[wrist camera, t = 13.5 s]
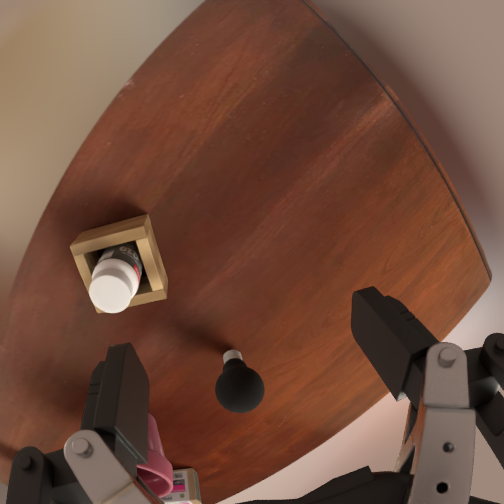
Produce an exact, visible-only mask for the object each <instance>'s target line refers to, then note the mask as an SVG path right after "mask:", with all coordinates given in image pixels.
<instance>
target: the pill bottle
mask: <svg viewBox="0 0 504 504" xmlns="http://www.w3.org/2000/svg"><path fill="white" fill-rule="evenodd" d="M143 267H144V265H143V262H142V259H141V256H140V253H139V249H138V246H137V243H136V242H135V241H134V240H133V241H129V242H125V243H122V244H118V245H114V246H110V247H106V249H105V251H104V253H103V254H102V256H101V258H100V260H99V262H98V263H97V265H96V267H95V269H94V271H93V274H92V282H91V284H90V287H89V295H90V298H91V300H92V302H93V303H94V305H95V306H96V307H98V308H99V309H100V310H102V311H105V312H108V313H117V312H121V311H123V310H124V309H125V308H127V306H128V305H129V303H130V300H131V298H133V296H134V295H135V294H136V292H137V289H138V286H139V282H140V278H141V274H142V270H143Z"/></svg>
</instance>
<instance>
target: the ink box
mask: <svg viewBox="0 0 504 504" xmlns="http://www.w3.org/2000/svg"><path fill="white" fill-rule="evenodd" d="M160 499H161V500H162V501H163V502H164V503H165V504H201V498H200V491H199V483H198V475H197V473H196V472H195V470H194V469H193V468H189V469H180V470H173V489H172V491H171V492H170V493H169V494H168V495H166V496H163V497H160Z"/></svg>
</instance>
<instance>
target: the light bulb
mask: <svg viewBox="0 0 504 504" xmlns="http://www.w3.org/2000/svg"><path fill="white" fill-rule="evenodd" d="M223 360H224V367H223V373H222V374H221V375H220V376H219V378H218V380H217V382H216V387H215V392H216V397H217V399H218V401H219V402H220V404H221V405H222V406H223V407H224V408H226V409H227V410H229V411H232V412H236V413H245V412H249V411H251V410H253V409H254V408H256V407H257V406H258V405H259V404H260V402H261V401H262V399H263V396H264V383H263V381H262V379H261V377H260V376H259V374H258V373H257V372H255V371H254V370H252V369H250V368H248V367H247V366H246V364H245V363H244V361H243V360H242V356H241V353H240V352H239V351H237V350H229V351H227V352H225V354H224V355H223Z"/></svg>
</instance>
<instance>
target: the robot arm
mask: <svg viewBox="0 0 504 504" xmlns="http://www.w3.org/2000/svg"><path fill="white" fill-rule="evenodd" d="M351 329H352V333H353V336H354V338H355V340H356V342H357V343H358V345H359V346H360V347H361V349H362V350H363V352H364V353H365V355H366V356H367V358H368V359H369V361H370V362H371V364H372V365H373V367H374V368H375V369H376V371H377V372H378V374H379V375H380V377H381V378H382V380H383V381H384V383H385V384H386V386H387V387H388V389H389V390H390V392H391V393H392V395H393V396H394V398H395V399H396V401H399V400H401V399H403V398H406V397H408V399H409V400H410V401H411V402H410V405H409V409H408V416H407V421H406V427H405V432H404V437H403V442H402V447H401V451H400V454H399V457H398V459H397V462H396V465H395V468H394V471H393V472H392V471H384V472H371V470H370V468H369V466H366V467H363V468H361V469H358V470H356V471H353V472H350V473H348V474H345V475H342V476H340V477H337V478H334V479H332V480H330V481H329V482H327V483H326V484H324V485H322V486H320V487H319V488H317V489H315V490H314V491H312V492H310V493H308V494H306V495H304V496H303V497H300V498H298V499H289V500H288V499H287V500H253V501H248V502H242V503H237V504H499V503H495V502H492V501H488V500H484V499H480V498H477V497H473V496H470V489H471V481H472V472H473V462H474V448H475V426H477V427H478V429H479V430H480V432H481V433H482V435H483V436H484V438H485V439H486V441H487V443H488V444H489V446H490V447H491V449H492V451H493V452H494V454H495V455H496V457H497V459H498V460H499V462H500V463H501V465H502V467H503V469H504V397H503V396H502V395H501V394H500V392H499V391H498V390H499V388H500V387H501V388H502V389H503V390H504V334H502V333H493V334H491V335H489V336H488V337H487V338H486V339H485V342H484V344H483V347H480V348H475V349H469V350H462V349H461V348H460V347H459V346H457V345H455V344H453V343H448V342H441V343H440V342H439V341H438V340H437V339H436V338H435V337H434V336H433V335H432V334H431V333H430V331H429V330H428V329H427V328H426V327H425V326H424V325H423V324H422V323H421V322H420V321H419V320H418V319H417V318H415V316H414V315H413V314H412V313H411V312H409V310H408V309H407V308H406V307H405V306H404V305H403V304H402V303H401V302H400V301H399V300H397V299H395V298H393V297H391V296H389V295H388V296H385V297H384V296H383V295H382V294H381V293H380V292H379V291H378V290H377V289H376V288H375V287H373V286H371V287H368V288H365V289H361V290H358V291H355V292H354V293H353V295H352V314H351ZM148 411H149V380H148V376H147V373H146V371H145V369H144V367H143V365H142V363H141V361H140V360H139V358H138V356H137V354H136V352H135V350H134V348H133V346H132V344H131V343H124V344H118V345H112V346H110V347H109V349H108V353H107V357H106V361H101V362H99V364H98V365H97V367H96V368H95V370H94V371H93V373H92V376H91V381H90V386H89V389H88V396H87V398H86V403H85V408H84V412H83V417H82V423H81V428H80V431H78V432H76V433H74V434H73V435H71V436H70V437H69V439H68V440H67V442H66V443H65V446H64V449H61V450H58V451H54V452H51V453H48V454H43V453H42V452H41V451H40V450H38V449H37V448H35V447H31V446H30V447H25V448H22V449H21V450H20V451H18V452H17V454H16V455H15V457H14V459H13V462H12V467H11V473H10V479H9V485H8V492H7V500H6V504H165V503H164V502H163V501H162V500H161V499H160V498H159V497H158V496H157V495H156V494H155V493H154V492H153V491H152V490H151V489H150V487H149V486H148V485H147V484H146V483H145V482H144V481H143V480H142V479H141V478H140V476H139V475H138V474H137V464H148ZM51 502H52V503H51Z"/></svg>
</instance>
